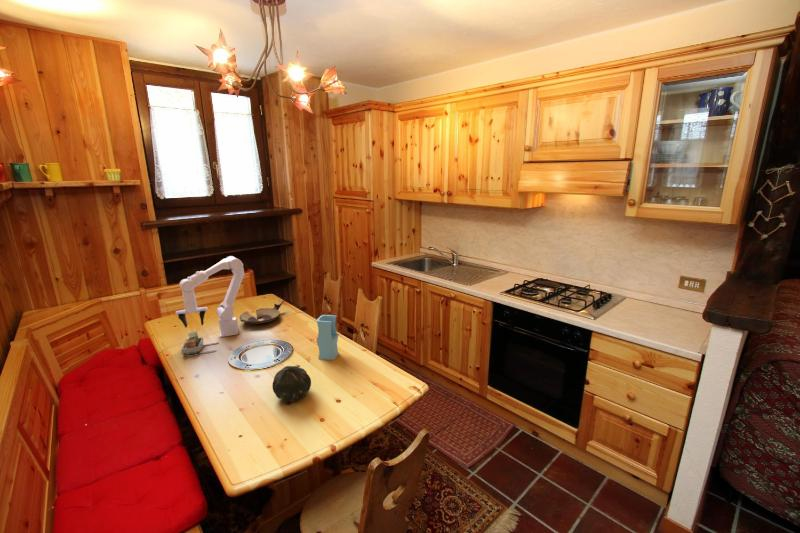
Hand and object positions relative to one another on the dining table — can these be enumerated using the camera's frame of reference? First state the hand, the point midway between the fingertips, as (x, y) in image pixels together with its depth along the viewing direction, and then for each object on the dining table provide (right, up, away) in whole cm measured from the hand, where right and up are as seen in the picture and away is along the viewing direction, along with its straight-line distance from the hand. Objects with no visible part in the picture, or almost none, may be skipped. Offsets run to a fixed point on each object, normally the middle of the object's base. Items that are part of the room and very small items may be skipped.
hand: (194, 325), depth 193 cm
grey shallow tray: (+3, -12, -6) cm, 14 cm away
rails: (+7, -12, -5) cm, 14 cm away
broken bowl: (+27, -2, +30) cm, 40 cm away
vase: (+74, -13, -13) cm, 76 cm away
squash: (+66, -22, -45) cm, 82 cm away
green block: (+3, -7, -5) cm, 9 cm away
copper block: (+4, -10, -9) cm, 14 cm away
